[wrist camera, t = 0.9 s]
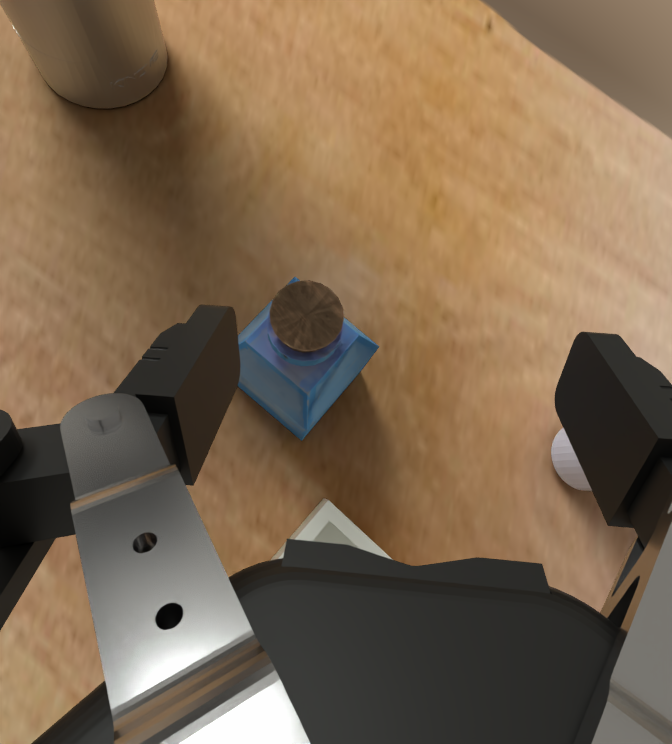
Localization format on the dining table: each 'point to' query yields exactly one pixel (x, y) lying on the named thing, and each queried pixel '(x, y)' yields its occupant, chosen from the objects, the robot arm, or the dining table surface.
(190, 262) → the dining table surface
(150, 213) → the dining table surface
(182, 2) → the dining table surface
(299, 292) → the perfume bottle
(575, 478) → the perfume bottle
